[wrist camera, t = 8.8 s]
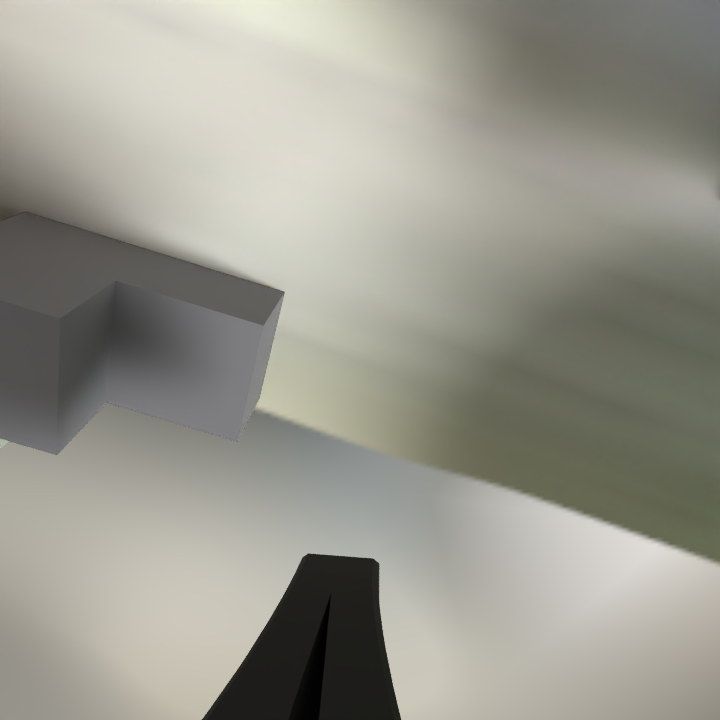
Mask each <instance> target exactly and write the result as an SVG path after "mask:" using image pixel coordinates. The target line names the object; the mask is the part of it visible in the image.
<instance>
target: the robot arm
mask: <svg viewBox="0 0 720 720" xmlns="http://www.w3.org/2000/svg"><path fill="white" fill-rule="evenodd" d="M202 720H401V717H400V713H399V709H398V705H397V701H396V696H395V692H394V688H393V683H392V678H391V673H390V668H389V664H388V659H387V653H386V648H385V642H384V637H383V630H382V622H381V615H380V607H379V563H378V562H376V561H375V560H374V559H371V558H358V557H345V556H332V555H319V554H307V555H306V556H304V557H303V558H302V560H301V562H300V564H299V566H298V569H297V571H296V573H295V575H294V576H293V578H292V580H291V583H290V584H289V586H288V588H287V590H286V592H285V594H284V595H283V597H282V599H281V601H280V602H279V604H278V606H277V608H276V609H275V611H274V613H273V615H272V616H271V618H270V620H269V621H268V623H267V624H266V626H265V628H264V629H263V631H262V632H261V634H260V636H259V637H258V639H257V640H256V642H255V644H254V645H253V647H252V648H251V650H250V651H249V653H248V655H247V656H246V658H245V659H244V661H243V662H242V664H241V665H240V667H239V668H238V670H237V671H236V673H235V674H234V675H233V677H232V678H231V680H230V681H229V683H228V684H227V685H226V687H225V688H224V690H223V691H222V692H221V694H220V695H219V697H218V698H217V700H216V701H215V702H214V704H213V705H212V707H211V708H210V710H209V711H208V712H207V714H206V715H205V716H204V718H203V719H202Z"/></svg>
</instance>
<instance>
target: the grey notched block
mask: <svg viewBox="0 0 720 720" xmlns="http://www.w3.org/2000/svg"><path fill="white" fill-rule="evenodd" d="M284 293H285V292H283V291H279V290H276V289H273V288H270V287H266V286H263V285H260V284H257V283H254V282H250V281H247V280H244V279H241V278H237V277H234V276H231V275H228V274H225V273H221V272H218V271H215V270H212V269H208V268H205V267H202V266H199V265H196V264H192V263H189V262H186V261H183V260H179V259H176V258H173V257H170V256H167V255H163V254H160V253H157V252H154V251H150V250H147V249H144V248H141V247H138V246H134V245H131V244H128V243H125V242H122V241H118V240H115V239H112V238H109V237H105V236H102V235H99V234H96V233H93V232H89V231H86V230H83V229H80V228H76V227H73V226H70V225H67V224H64V223H60V222H57V221H54V220H51V219H47V218H44V217H41V216H38V215H35V214H31V213H28V212H24V213H21V214H19V215H16V216H13V217H10V218H7V219H5V220H2V221H0V439H3V440H7V441H11V442H14V443H17V444H21V445H24V446H28V447H31V448H35V449H38V450H41V451H45V452H48V453H51V454H55V455H57V454H58V453H59V452H60V451H61V450H62V449H63V448H64V447H65V446H66V445H67V444H68V443H69V442H70V441H71V440H72V439H73V438H74V437H75V435H76V434H78V432H79V431H80V430H81V429H82V428H83V427H84V426H85V425H86V424H87V423H88V422H89V421H90V420H91V419H92V418H93V417H94V416H95V415H96V414H97V413H98V411H99V410H100V409H101V408H102V407H103V406H104V405H105V404H106V403H109V404H112V405H115V406H118V407H122V408H125V409H129V410H132V411H135V412H139V413H142V414H145V415H149V416H152V417H155V418H159V419H162V420H166V421H169V422H172V423H176V424H179V425H182V426H186V427H189V428H193V429H196V430H199V431H203V432H206V433H209V434H213V435H216V436H219V437H223V438H226V439H229V440H233V441H236V442H238V440H239V438H240V436H241V434H242V432H243V430H244V428H245V426H246V424H247V422H248V420H249V418H250V416H251V414H252V412H253V410H254V408H255V406H256V404H257V402H258V400H259V398H260V394H261V389H262V385H263V381H264V377H265V373H266V368H267V364H268V360H269V356H270V352H271V347H272V343H273V339H274V335H275V331H276V326H277V322H278V318H279V314H280V310H281V305H282V301H283V297H284Z"/></svg>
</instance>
